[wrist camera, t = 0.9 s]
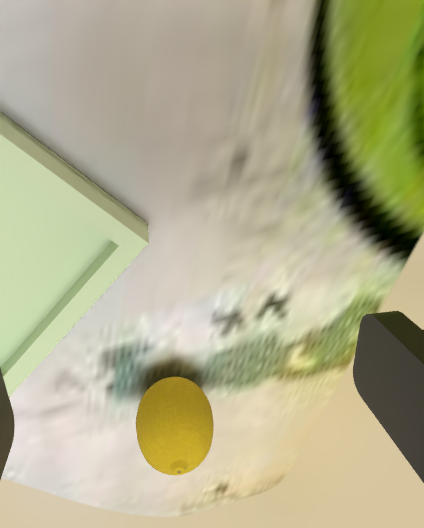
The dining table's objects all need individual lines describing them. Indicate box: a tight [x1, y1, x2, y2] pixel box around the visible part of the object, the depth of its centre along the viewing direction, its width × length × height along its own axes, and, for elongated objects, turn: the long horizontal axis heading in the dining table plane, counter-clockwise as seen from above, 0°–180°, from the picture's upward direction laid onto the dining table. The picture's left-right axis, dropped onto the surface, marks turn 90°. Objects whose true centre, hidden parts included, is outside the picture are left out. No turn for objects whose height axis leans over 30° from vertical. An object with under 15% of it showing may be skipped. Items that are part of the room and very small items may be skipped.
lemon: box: [136, 377, 213, 475], centre depth 29 cm, size 6×6×8 cm
